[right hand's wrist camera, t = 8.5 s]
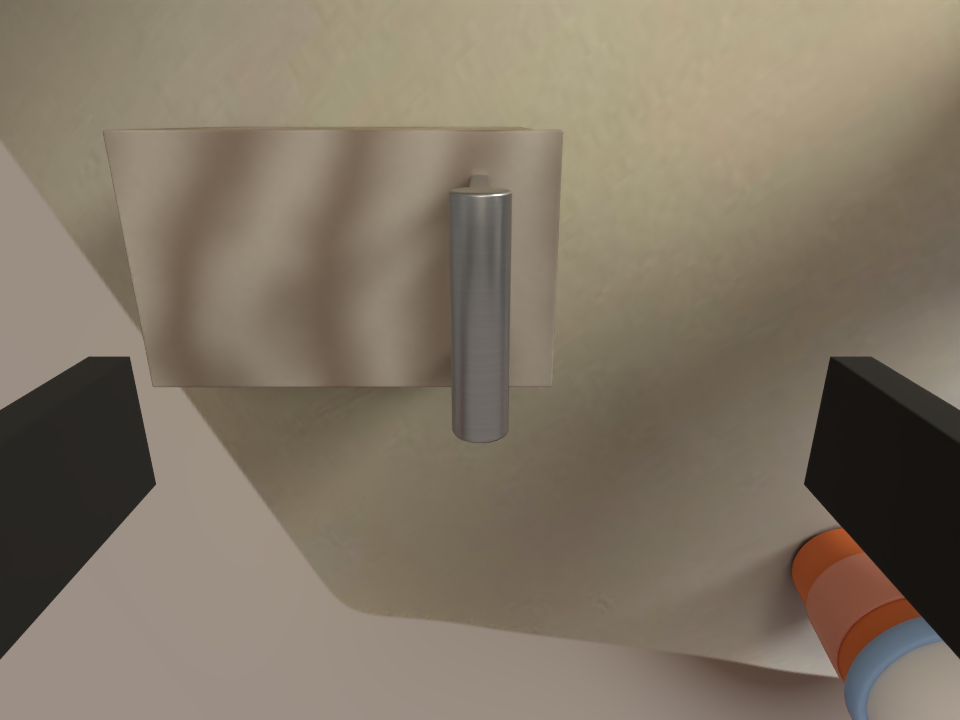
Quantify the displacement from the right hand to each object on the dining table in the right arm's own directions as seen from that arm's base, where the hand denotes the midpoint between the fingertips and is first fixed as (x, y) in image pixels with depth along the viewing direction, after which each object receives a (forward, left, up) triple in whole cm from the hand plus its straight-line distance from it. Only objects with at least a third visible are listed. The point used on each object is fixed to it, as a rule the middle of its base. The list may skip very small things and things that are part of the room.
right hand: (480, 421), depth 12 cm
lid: (0, -5, -14) cm, 15 cm away
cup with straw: (+21, +26, -25) cm, 42 cm away
